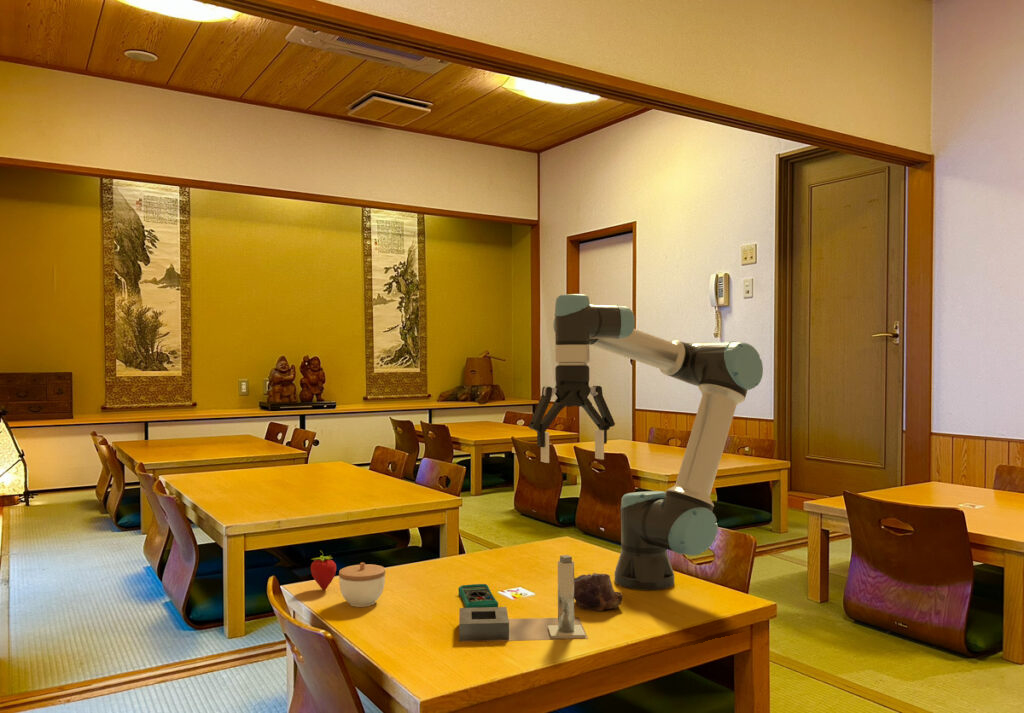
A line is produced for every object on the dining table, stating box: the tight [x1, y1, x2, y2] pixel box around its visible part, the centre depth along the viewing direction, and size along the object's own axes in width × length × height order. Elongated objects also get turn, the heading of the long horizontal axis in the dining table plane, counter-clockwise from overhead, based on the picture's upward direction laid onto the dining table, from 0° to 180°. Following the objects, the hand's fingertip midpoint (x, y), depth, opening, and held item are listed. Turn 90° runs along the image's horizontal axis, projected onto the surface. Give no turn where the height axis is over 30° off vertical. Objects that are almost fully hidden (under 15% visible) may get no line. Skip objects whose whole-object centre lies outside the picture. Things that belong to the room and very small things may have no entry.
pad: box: [548, 625, 585, 639], centre depth 158 cm, size 7×6×1 cm
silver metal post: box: [557, 554, 575, 633], centre depth 158 cm, size 3×3×15 cm
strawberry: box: [310, 550, 337, 591], centre depth 191 cm, size 6×8×10 cm
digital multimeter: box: [458, 583, 499, 608], centre depth 180 cm, size 7×15×3 cm, turn 12°
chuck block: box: [458, 606, 509, 641], centre depth 159 cm, size 10×10×3 cm
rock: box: [574, 572, 624, 612], centre depth 175 cm, size 12×9×10 cm
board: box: [458, 616, 589, 643], centre depth 161 cm, size 26×13×1 cm, turn 93°
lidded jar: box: [338, 562, 386, 608], centre depth 181 cm, size 11×11×9 cm
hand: (572, 460), depth 170 cm, fingers open, 13 cm apart
